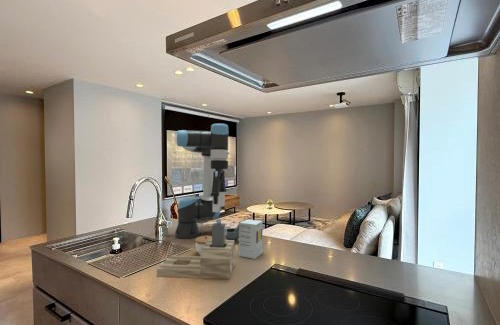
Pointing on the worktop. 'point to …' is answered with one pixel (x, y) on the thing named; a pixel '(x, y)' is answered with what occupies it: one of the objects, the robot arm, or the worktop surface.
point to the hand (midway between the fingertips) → (218, 209)
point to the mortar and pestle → (233, 234)
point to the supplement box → (250, 238)
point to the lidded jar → (201, 242)
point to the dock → (201, 263)
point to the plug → (218, 234)
